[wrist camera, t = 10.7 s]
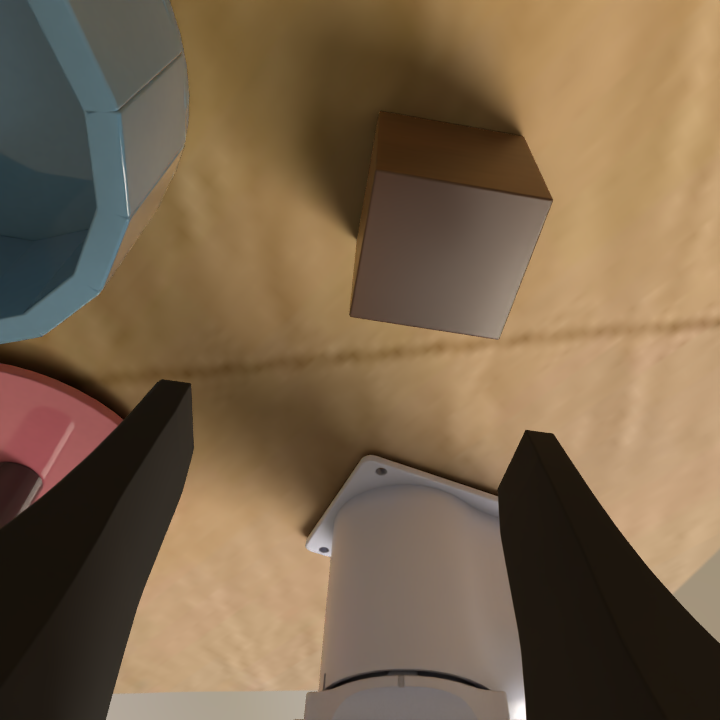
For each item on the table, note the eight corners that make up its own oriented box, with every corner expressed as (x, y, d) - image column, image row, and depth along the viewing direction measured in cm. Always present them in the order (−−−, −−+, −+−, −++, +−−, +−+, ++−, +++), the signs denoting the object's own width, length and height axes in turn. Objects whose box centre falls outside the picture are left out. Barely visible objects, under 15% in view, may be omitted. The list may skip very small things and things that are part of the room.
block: (524, 135, 18) (554, 199, 15) (482, 262, 21) (499, 340, 17) (379, 110, 18) (375, 169, 14) (356, 242, 21) (349, 317, 17)
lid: (164, 375, 25) (125, 462, 21) (177, 556, 33) (151, 640, 30) (-181, 325, 24) (-283, 408, 20) (-76, 524, 33) (-135, 607, 29)
